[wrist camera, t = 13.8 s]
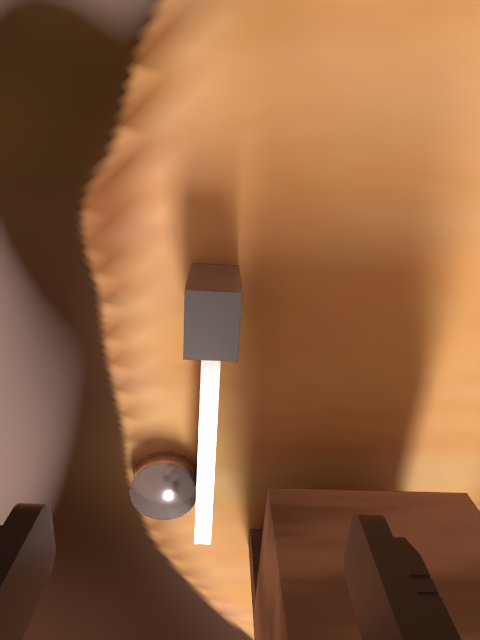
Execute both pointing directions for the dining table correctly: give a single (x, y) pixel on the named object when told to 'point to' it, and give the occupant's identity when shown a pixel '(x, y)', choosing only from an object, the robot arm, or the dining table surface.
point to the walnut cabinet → (329, 548)
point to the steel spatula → (210, 365)
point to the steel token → (164, 486)
